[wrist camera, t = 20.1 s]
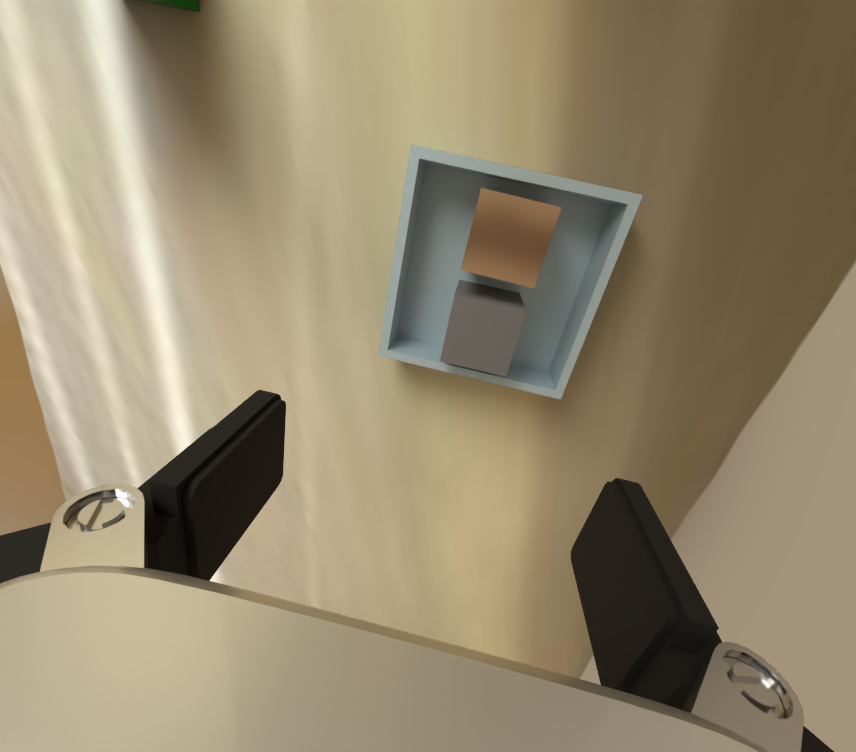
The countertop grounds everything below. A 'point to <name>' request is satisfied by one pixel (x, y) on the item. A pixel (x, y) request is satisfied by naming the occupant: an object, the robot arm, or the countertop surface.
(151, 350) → the countertop surface
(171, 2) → the soya milk
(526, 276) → the walnut block
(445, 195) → the bin
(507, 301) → the charcoal block
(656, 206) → the countertop surface
